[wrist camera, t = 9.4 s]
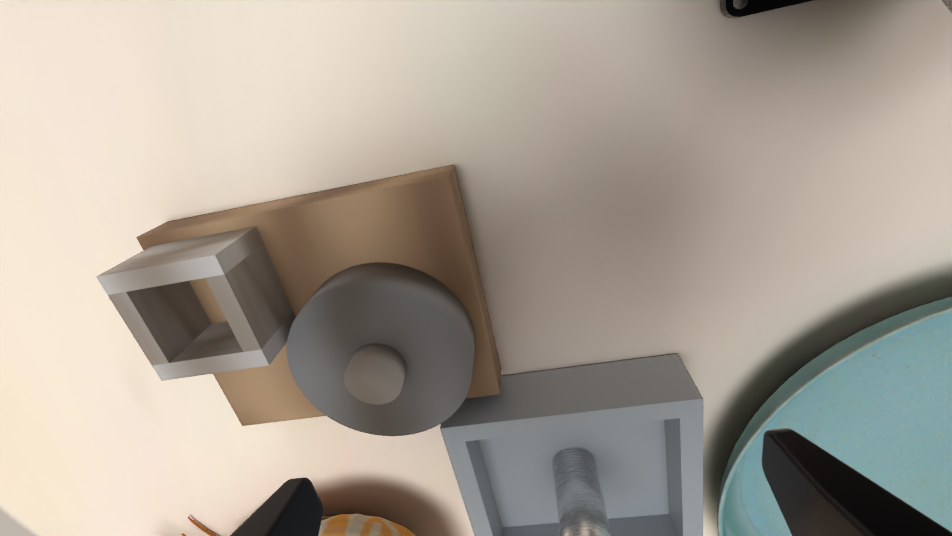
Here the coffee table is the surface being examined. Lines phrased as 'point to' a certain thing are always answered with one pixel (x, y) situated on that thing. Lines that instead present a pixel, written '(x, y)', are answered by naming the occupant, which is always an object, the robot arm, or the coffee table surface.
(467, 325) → the pulley block
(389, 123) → the coffee table surface
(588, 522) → the lock pin
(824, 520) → the robot arm
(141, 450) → the coffee table surface
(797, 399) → the teal round plate
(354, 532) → the nautilus
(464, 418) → the tray
